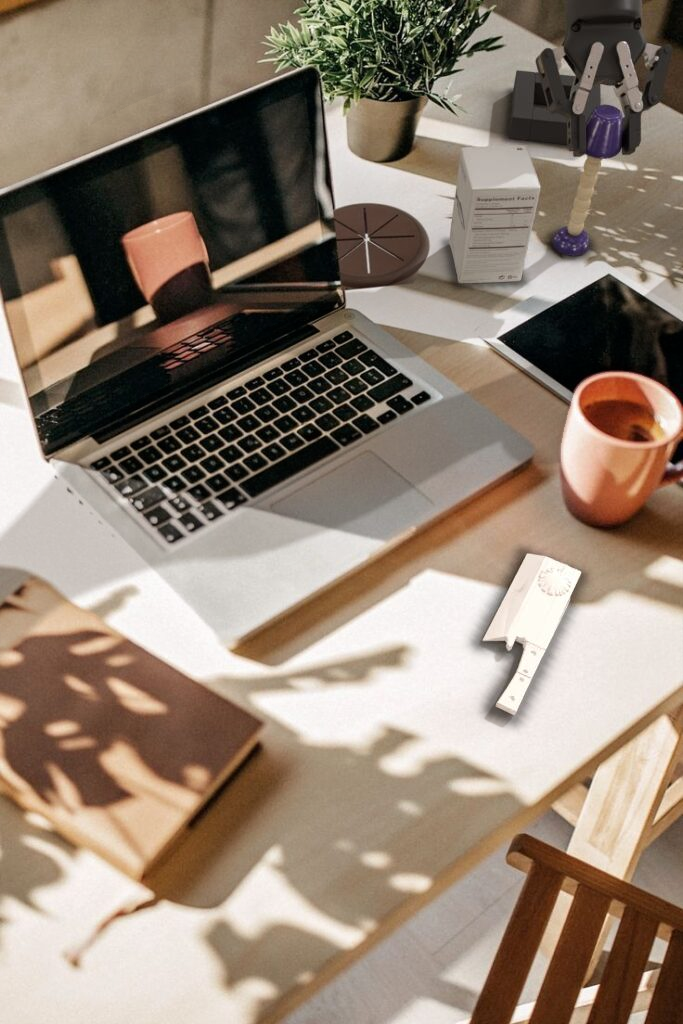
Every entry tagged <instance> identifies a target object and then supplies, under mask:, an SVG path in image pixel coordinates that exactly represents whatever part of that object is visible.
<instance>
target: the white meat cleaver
mask: <svg viewBox="0 0 683 1024" xmlns="http://www.w3.org/2000/svg"><path fill="white" fill-rule="evenodd" d="M581 574H582V571H581V570H579V569H577V568H574V567H572V566H569V565H568V564H567V563H563V562H561V561H558V560H556V559H554V558H551V557H548V556H547V555H542V554H541V555H540V554H534V553H526V555H525V557H524V558H523V561H522V563H521V565H520V566H519V568H518V570H517V572H516V573H515V576H514V578H513V580H512V582H511V584H510V586H509V588H508V589H507V591H506V593H505V595H504V597H503V600H502V601H501V602H500V603H501V604H500V606H499V607H498V609H497V611H496V613H495V615H494V617H493V619H492V621H491V623H490V625H489V626H488V628H487V630H486V633H485V635H484V636H483V638H482V642H505V643H506V644H505V648H506V650H507V651H508V652H509V651H511V650H512V648H513V646H514V644H515V642H517V643H519V644H521V645H522V648H523V651H522V654H521V657H520V660H519V663H518V666H517V669H516V671H515V673H514V675H513V677H512V679H511V680H510V681H509V683H508V685H507V687H506V688H505V689H504V691H503V693H502V694H501V695H500V697H499V699H498V700H497V702H496V704H495V707H496V708H498V709H499V710H502V711H504V712H506V713H509V714H511V715H513V716H515V715H516V713H517V711H518V709H519V707H520V706H521V702H522V701H523V698H524V696H525V694H526V693H527V690H528V688H529V686H530V684H531V682H532V680H533V678H534V675H535V673H536V671H537V668H538V666H540V662H541V660H542V658H543V656H544V655H545V652H546V650H547V648H548V647H549V645H550V642H551V640H552V638H553V636H554V634H555V632H556V630H557V628H558V626H559V624H560V623H561V620H562V619H563V618H562V617H563V616H564V615H565V611H566V610H567V607H568V605H569V603H570V601H571V596H572V594H573V592H574V589H575V587H576V585H577V583H578V581H579V579H580V577H581Z"/></svg>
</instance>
